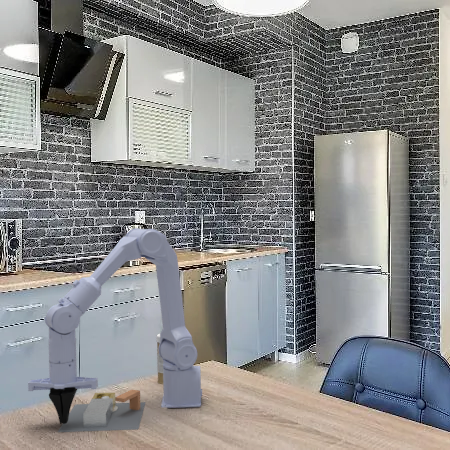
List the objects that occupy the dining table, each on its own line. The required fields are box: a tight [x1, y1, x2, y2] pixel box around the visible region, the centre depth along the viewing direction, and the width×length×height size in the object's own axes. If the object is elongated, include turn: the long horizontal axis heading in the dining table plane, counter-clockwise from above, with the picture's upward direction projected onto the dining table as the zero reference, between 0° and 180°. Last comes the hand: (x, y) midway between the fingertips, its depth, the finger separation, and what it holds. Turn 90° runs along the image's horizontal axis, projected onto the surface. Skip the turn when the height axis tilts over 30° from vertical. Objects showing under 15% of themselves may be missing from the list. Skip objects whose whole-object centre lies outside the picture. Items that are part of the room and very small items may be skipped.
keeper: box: [115, 389, 141, 410], centre depth 128 cm, size 6×2×5 cm, turn 153°
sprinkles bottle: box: [156, 333, 163, 385], centre depth 151 cm, size 5×5×13 cm
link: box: [83, 392, 117, 428], centre depth 126 cm, size 13×5×3 cm, turn 3°
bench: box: [57, 396, 146, 433], centre depth 126 cm, size 17×17×3 cm
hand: (64, 422), depth 121 cm, fingers closed
